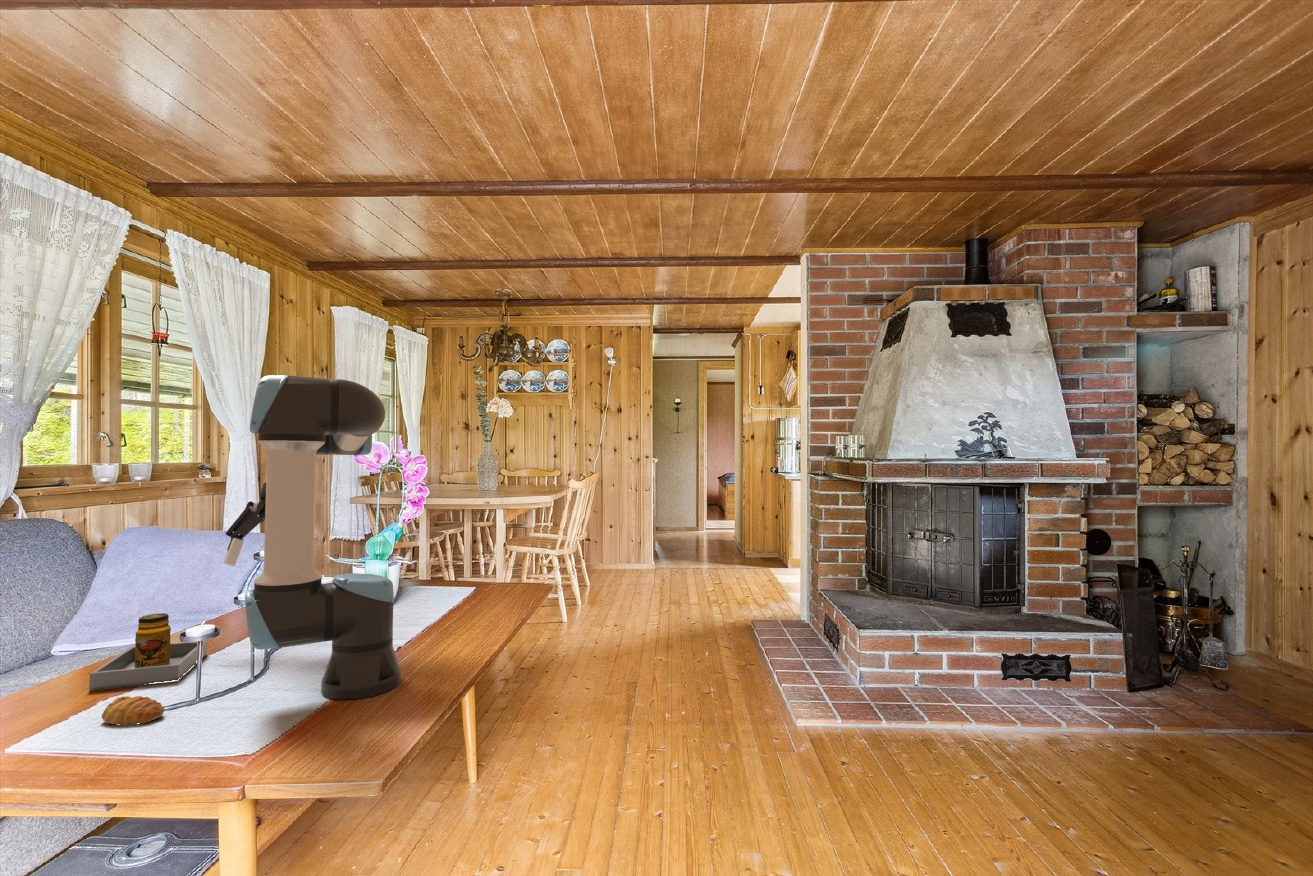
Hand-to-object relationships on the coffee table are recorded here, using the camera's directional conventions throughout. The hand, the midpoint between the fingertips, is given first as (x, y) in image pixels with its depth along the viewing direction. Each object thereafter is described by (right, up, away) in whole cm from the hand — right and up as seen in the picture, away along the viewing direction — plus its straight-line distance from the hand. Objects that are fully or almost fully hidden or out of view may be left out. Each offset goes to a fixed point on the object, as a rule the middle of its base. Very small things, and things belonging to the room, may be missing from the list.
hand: (251, 565), depth 151 cm
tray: (-12, -21, -15) cm, 28 cm away
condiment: (-13, -20, -15) cm, 28 cm away
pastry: (+4, -20, -39) cm, 44 cm away
